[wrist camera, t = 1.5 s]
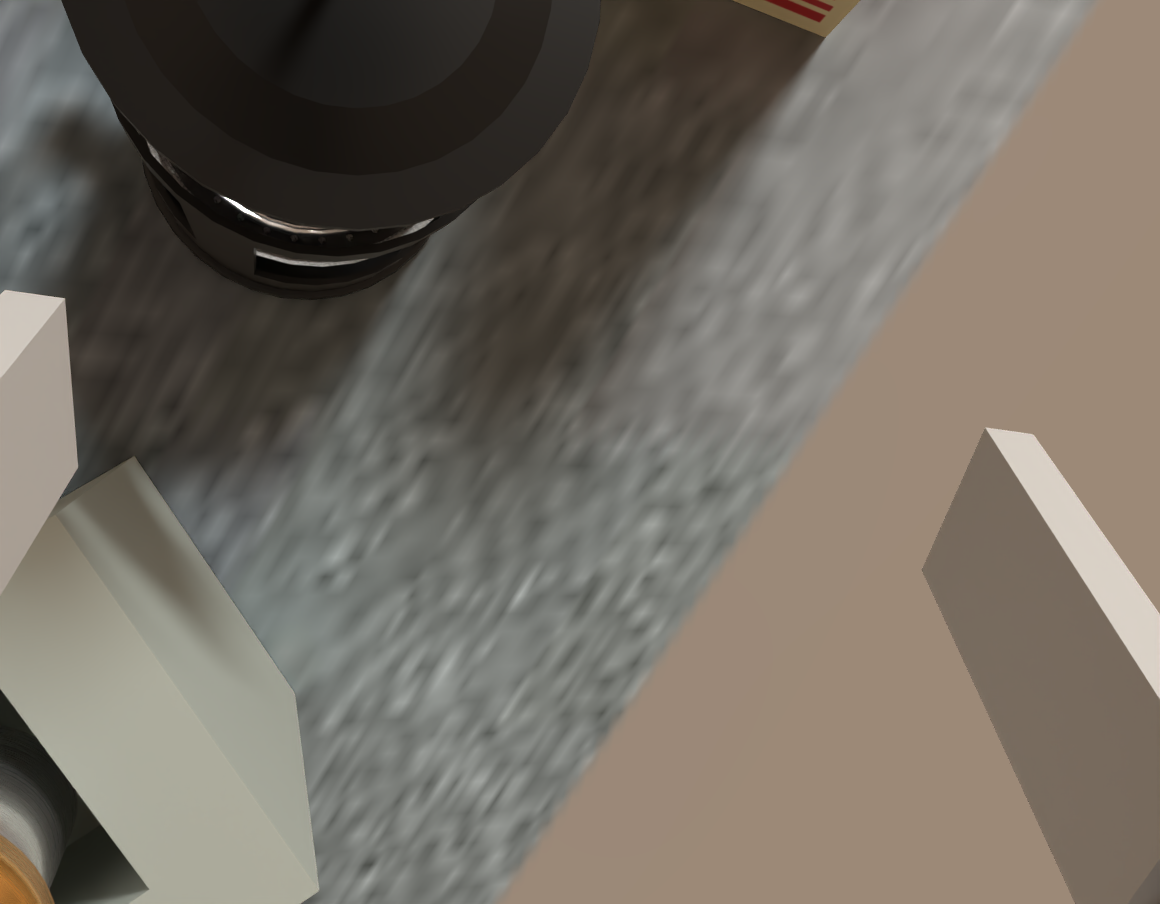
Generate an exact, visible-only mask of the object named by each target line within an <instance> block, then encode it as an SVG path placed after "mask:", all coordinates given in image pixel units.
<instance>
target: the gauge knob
mask: <svg viewBox="0 0 1160 904" xmlns="http://www.w3.org/2000/svg"><path fill="white" fill-rule="evenodd" d="M76 815H77V794H76V790H75V789H74V787H73V786H72V785H71V783H70V782H69V781H68V779H67V778H66V776H65V775H64V774H63V772H62V771H61V770H60V768H59V767H58V766H57V764H56V763H55V762H54V760H53V759H52V758H51V756H50V755H49V754H48V752H47V751H46V750H45V748H44V747H43V746H42V744H41V743H40V741H39V740H38V739H37V737H35V736H33V735H31V734H29V733H26V732H24V731H21V730H18V729H14V728H9V727H5V726H0V904H55V903H54V899H53V897H52V895H51V893H50V887H51V885H52V882H53V880H54V877H55V875H56V872H57V870H58V867H59V864H60V862H61V859H62V857H63V854H64V852H65V849H66V847H67V844H68V841H69V839H70V836H71V834H72V831H73V828H74V825H75V820H76Z"/></svg>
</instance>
